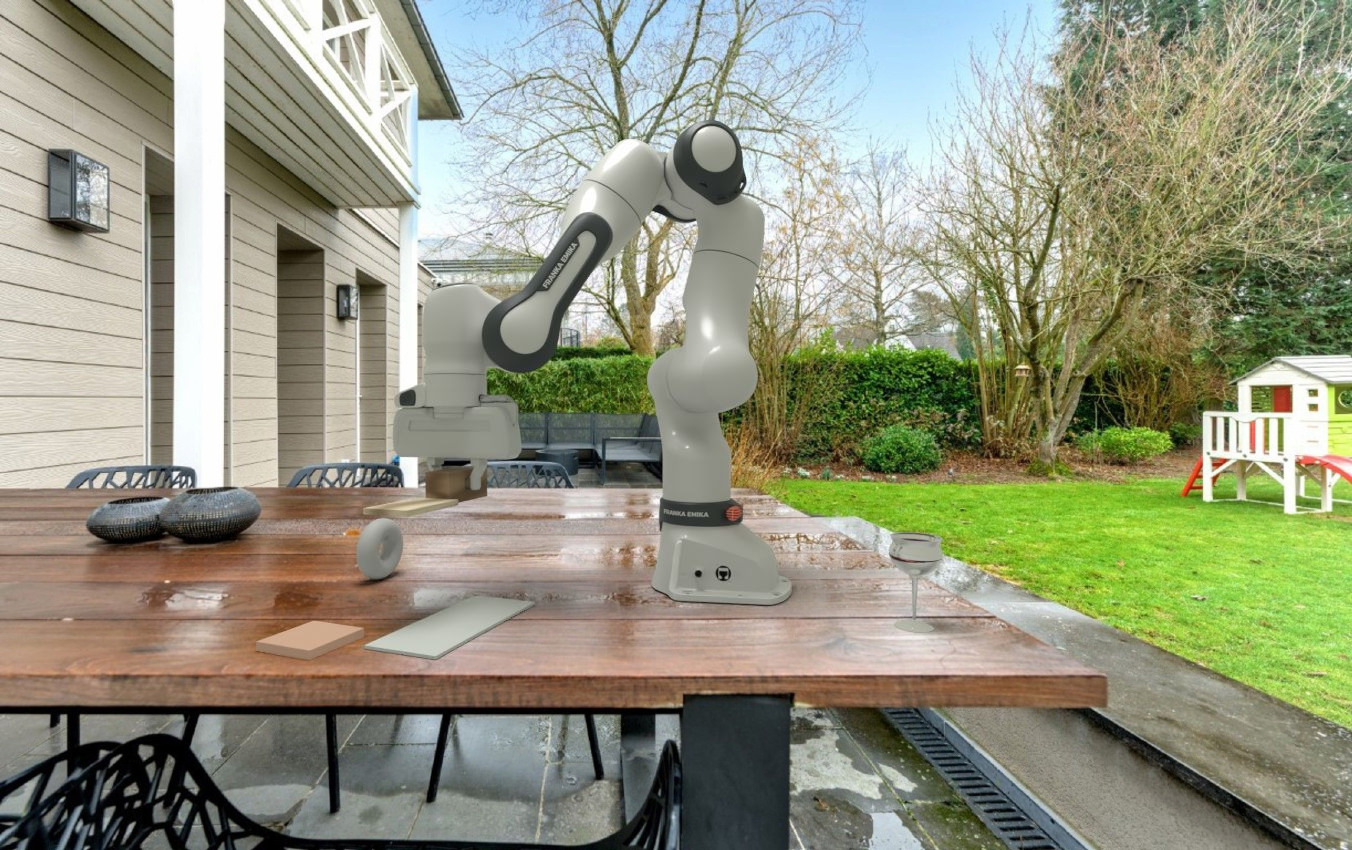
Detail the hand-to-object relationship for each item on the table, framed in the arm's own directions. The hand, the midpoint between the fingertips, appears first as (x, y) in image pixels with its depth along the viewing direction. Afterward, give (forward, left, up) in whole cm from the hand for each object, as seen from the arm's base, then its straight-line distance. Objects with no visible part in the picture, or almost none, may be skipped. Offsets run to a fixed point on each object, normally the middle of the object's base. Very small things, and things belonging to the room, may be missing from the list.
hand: (457, 488), depth 97 cm
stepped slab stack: (0, +5, -2) cm, 5 cm away
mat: (-7, +10, -16) cm, 20 cm away
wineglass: (-64, -10, -17) cm, 67 cm away
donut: (+19, -5, -17) cm, 26 cm away
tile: (+5, +17, -16) cm, 24 cm away
